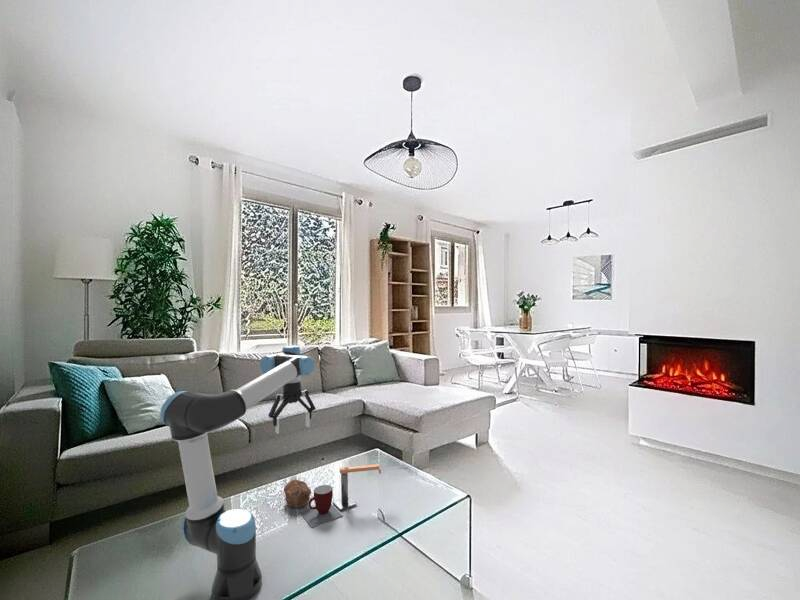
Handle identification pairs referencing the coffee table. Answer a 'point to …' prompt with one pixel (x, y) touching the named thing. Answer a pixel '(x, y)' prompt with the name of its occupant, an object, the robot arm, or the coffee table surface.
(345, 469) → the ball-ended drumstick
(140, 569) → the coffee table surface
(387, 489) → the coffee table surface
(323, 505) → the mug
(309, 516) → the mat
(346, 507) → the clip post
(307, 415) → the robot arm
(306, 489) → the decorative rock
